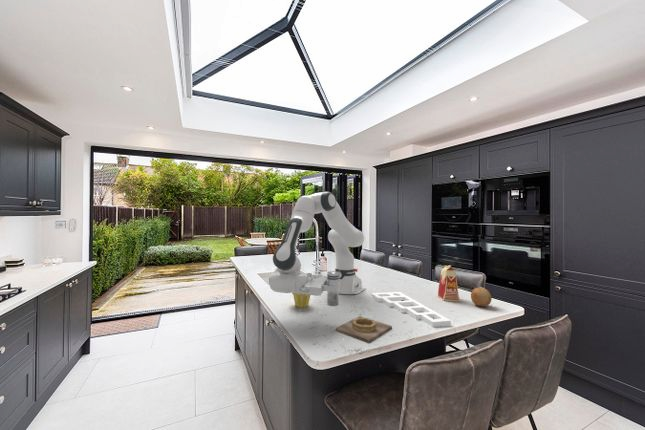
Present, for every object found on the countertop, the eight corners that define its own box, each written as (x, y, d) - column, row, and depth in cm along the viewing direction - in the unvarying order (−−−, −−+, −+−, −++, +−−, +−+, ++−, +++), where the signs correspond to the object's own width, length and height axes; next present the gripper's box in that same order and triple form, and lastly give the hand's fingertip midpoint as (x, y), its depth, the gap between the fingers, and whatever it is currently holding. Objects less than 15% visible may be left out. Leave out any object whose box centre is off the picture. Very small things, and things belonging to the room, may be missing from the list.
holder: (450, 326, 120) (451, 320, 120) (413, 329, 116) (413, 323, 116) (399, 296, 164) (399, 291, 164) (371, 298, 160) (371, 293, 160)
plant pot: (302, 310, 136) (302, 290, 136) (287, 305, 142) (287, 286, 142) (315, 305, 144) (316, 286, 144) (300, 301, 151) (301, 283, 151)
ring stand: (359, 318, 127) (360, 311, 127) (391, 328, 116) (392, 321, 116) (335, 330, 113) (335, 323, 113) (369, 342, 103) (369, 334, 103)
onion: (486, 310, 141) (487, 290, 141) (466, 305, 149) (467, 286, 149) (495, 307, 146) (495, 288, 146) (475, 302, 154) (475, 284, 154)
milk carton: (459, 301, 155) (460, 265, 155) (443, 301, 155) (443, 265, 155) (452, 296, 164) (453, 263, 164) (436, 296, 164) (437, 262, 164)
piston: (332, 301, 125) (332, 270, 125) (341, 304, 122) (341, 272, 121) (324, 304, 121) (324, 272, 121) (333, 307, 118) (334, 274, 117)
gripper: (298, 283, 113) (331, 285, 111) (309, 272, 133) (338, 273, 131) (298, 298, 113) (331, 300, 111) (309, 285, 133) (337, 286, 131)
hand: (335, 285), depth 121 cm, fingers closed on piston, 5 cm apart
